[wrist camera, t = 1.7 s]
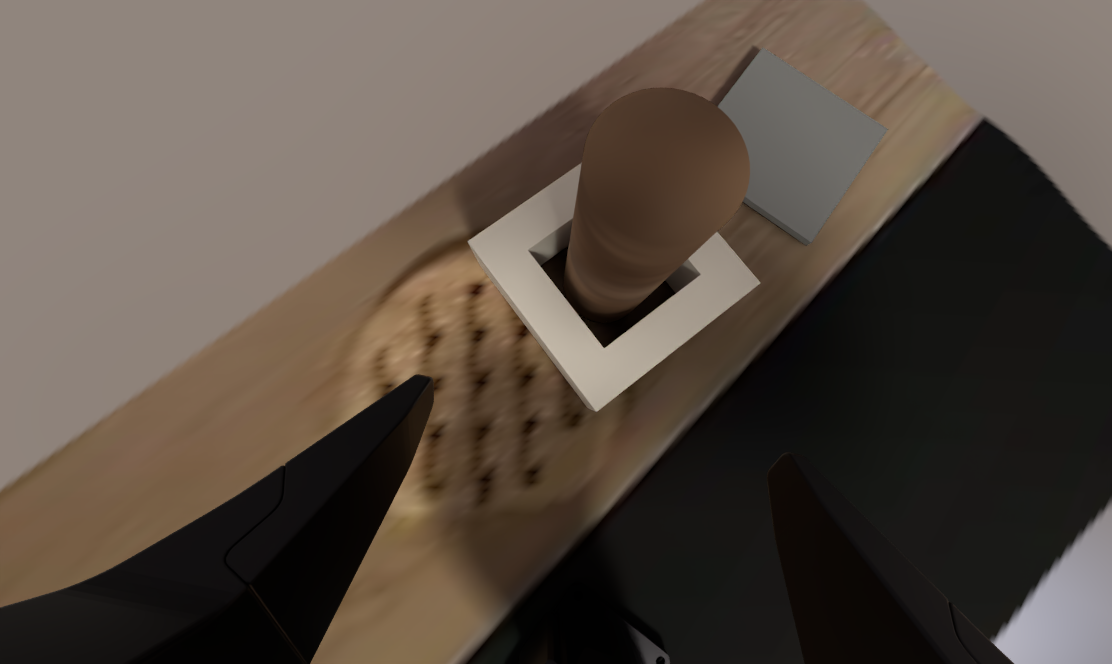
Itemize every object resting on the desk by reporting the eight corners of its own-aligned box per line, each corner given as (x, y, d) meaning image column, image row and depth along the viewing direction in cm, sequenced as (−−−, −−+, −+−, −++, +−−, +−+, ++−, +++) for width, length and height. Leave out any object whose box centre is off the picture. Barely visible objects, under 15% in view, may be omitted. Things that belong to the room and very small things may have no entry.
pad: (881, 134, 26) (888, 129, 26) (806, 245, 25) (811, 242, 25) (758, 53, 27) (762, 47, 27) (679, 157, 26) (681, 153, 25)
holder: (726, 300, 24) (760, 283, 20) (587, 408, 23) (596, 412, 19) (617, 169, 26) (630, 128, 22) (480, 265, 24) (467, 241, 20)
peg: (658, 275, 25) (781, 149, 12) (612, 338, 24) (689, 276, 11) (594, 230, 25) (645, 58, 12) (547, 290, 24) (548, 176, 11)
